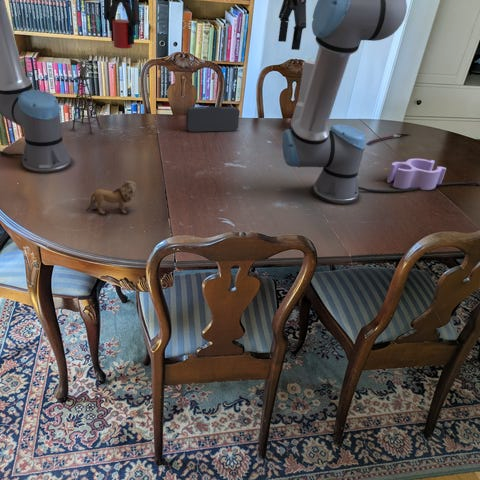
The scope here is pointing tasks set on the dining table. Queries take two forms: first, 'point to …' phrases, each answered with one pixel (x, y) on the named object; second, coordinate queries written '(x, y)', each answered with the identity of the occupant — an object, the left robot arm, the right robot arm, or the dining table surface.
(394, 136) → the sword
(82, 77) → the miniature windmill
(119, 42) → the canister
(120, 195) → the lion figurine
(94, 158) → the dining table surface
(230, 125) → the dark grey rectangular block
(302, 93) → the electronic device
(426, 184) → the clip
